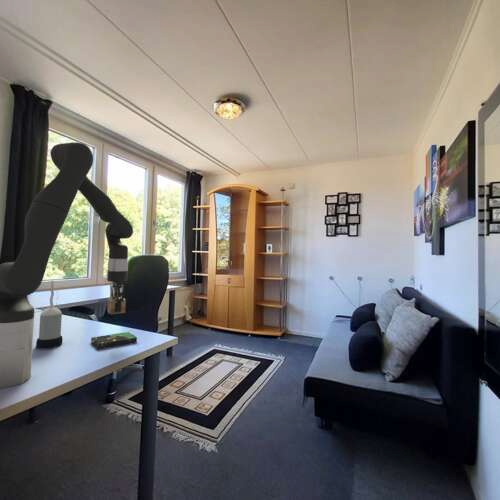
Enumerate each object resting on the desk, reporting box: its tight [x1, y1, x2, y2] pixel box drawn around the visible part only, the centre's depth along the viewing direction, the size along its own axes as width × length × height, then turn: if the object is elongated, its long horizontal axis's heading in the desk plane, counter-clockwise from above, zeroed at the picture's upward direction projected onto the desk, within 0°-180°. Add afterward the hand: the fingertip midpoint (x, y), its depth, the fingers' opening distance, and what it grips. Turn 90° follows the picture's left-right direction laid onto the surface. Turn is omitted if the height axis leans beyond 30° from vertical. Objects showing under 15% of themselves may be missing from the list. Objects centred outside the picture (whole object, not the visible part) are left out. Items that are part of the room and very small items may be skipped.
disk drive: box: [90, 331, 138, 351], centre depth 109 cm, size 10×3×15 cm
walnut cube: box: [107, 297, 127, 315], centre depth 109 cm, size 6×6×6 cm
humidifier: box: [35, 280, 64, 350], centre depth 103 cm, size 8×8×25 cm
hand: (116, 310), depth 109 cm, fingers closed on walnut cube, 5 cm apart
